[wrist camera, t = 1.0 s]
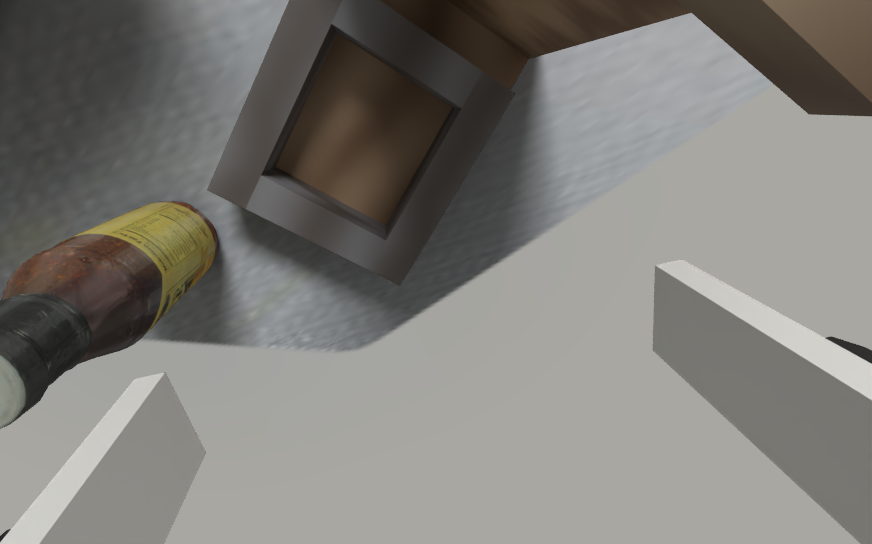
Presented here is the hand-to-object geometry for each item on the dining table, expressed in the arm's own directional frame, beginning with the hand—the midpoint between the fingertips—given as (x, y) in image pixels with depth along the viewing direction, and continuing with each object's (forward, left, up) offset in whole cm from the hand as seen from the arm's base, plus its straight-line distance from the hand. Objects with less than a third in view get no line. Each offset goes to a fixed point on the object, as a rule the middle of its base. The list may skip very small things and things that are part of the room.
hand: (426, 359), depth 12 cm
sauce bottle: (-13, -11, -25) cm, 30 cm away
